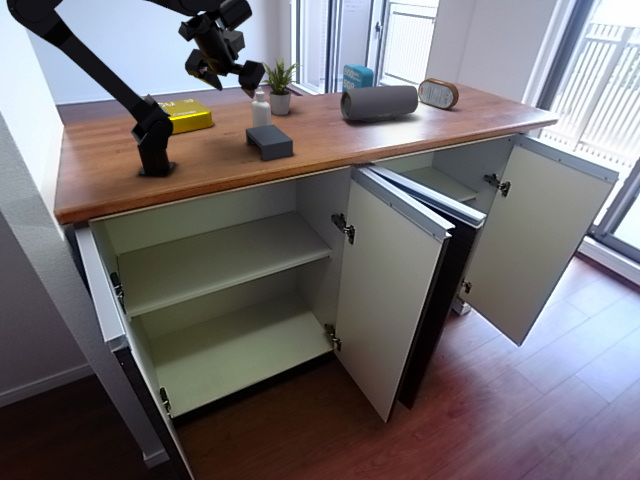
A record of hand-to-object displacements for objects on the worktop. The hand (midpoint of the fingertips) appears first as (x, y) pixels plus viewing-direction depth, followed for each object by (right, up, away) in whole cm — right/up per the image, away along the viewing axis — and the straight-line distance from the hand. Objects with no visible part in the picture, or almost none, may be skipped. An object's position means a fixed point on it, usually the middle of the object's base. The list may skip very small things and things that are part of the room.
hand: (237, 93), depth 94 cm
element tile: (-20, -3, +16) cm, 26 cm away
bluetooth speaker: (+39, +1, +24) cm, 46 cm away
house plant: (+9, +4, +26) cm, 28 cm away
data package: (+33, +11, +36) cm, 50 cm away
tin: (+61, +10, +37) cm, 72 cm away
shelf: (+8, -13, +3) cm, 16 cm away
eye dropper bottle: (+4, -6, +13) cm, 15 cm away
